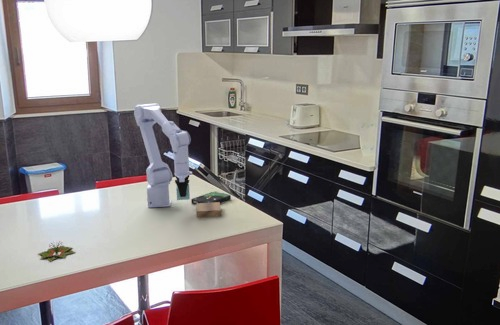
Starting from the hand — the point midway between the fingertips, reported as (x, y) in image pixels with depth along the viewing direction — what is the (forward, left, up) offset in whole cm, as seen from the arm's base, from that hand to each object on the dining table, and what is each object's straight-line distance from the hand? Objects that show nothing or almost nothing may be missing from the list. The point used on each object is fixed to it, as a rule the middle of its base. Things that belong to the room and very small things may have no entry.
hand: (183, 194), depth 186 cm
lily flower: (-42, -31, -9) cm, 53 cm away
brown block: (+10, 0, -9) cm, 13 cm away
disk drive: (+12, +14, -9) cm, 20 cm away
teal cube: (0, 0, -1) cm, 1 cm away
